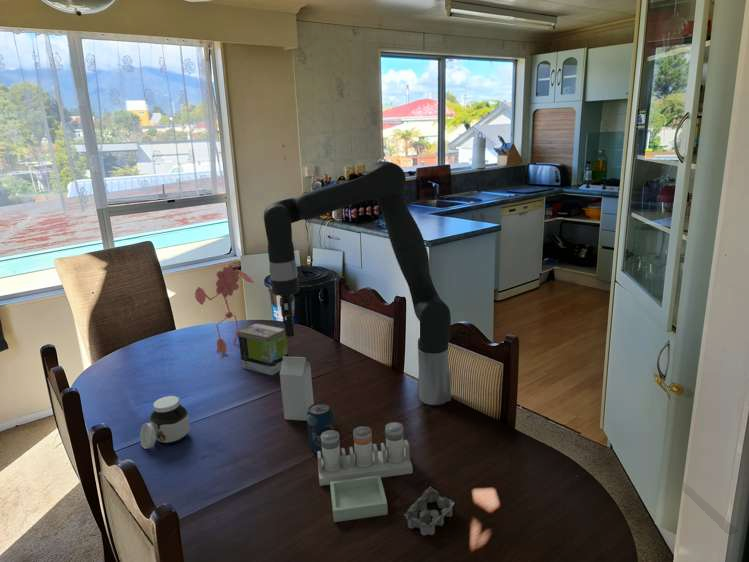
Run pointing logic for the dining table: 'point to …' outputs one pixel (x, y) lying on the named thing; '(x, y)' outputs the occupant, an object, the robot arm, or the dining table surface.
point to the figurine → (225, 287)
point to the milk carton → (296, 387)
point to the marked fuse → (363, 447)
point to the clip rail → (377, 468)
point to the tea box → (263, 348)
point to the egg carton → (428, 512)
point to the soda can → (318, 424)
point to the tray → (358, 498)
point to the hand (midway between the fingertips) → (290, 330)
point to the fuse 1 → (331, 451)
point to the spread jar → (165, 423)
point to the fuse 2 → (394, 442)
